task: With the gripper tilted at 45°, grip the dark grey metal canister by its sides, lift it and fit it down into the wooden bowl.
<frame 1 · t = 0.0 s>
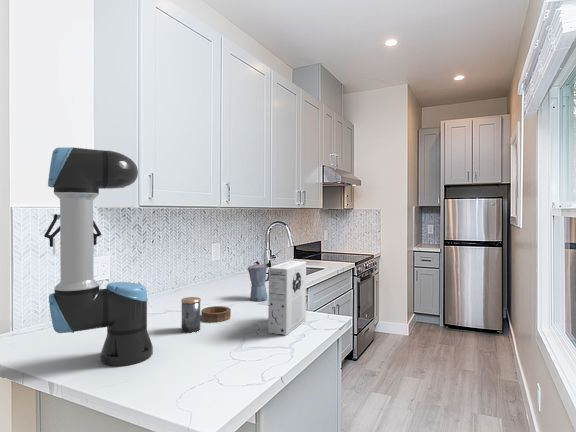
hand: (73, 254, 153), 28 cm above the table, tool pointing down, fingers open, 13 cm apart
canister: (190, 330, 144), on the table
moka pot: (259, 299, 193), on the table
wooden bowl: (216, 317, 160), on the table
cereal box: (288, 326, 150), on the table
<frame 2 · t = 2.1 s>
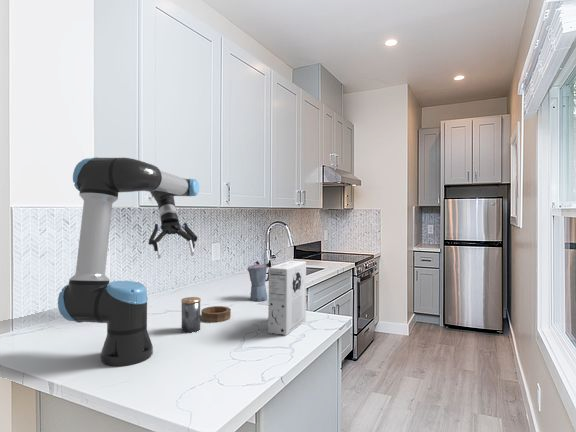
hand: (176, 255, 156), 27 cm above the table, tool tilted 40°, fingers open, 13 cm apart
nothing on the table moved.
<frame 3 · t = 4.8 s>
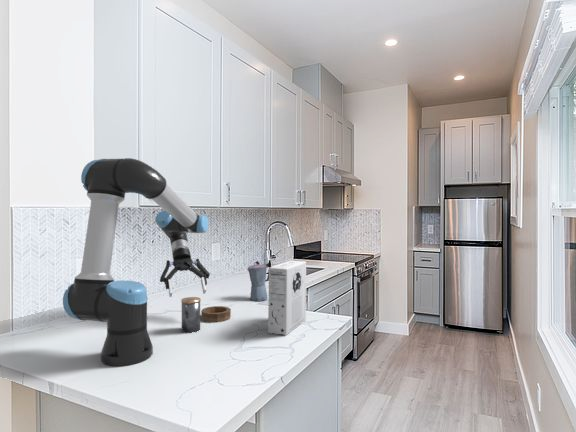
hand: (188, 293, 151), 12 cm above the table, tool tilted 45°, fingers open, 13 cm apart
nothing on the table moved.
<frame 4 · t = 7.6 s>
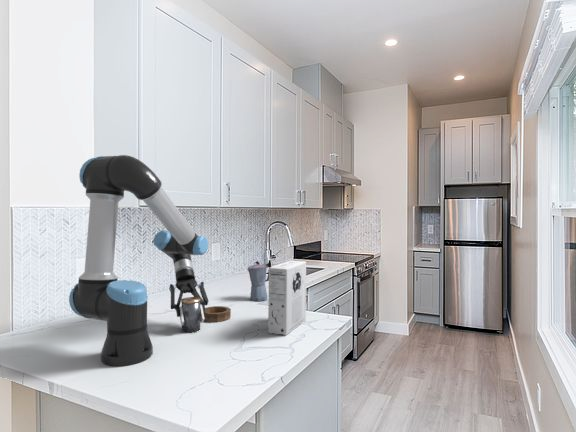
hand: (192, 322, 141), 4 cm above the table, tool tilted 45°, fingers closed on canister, 7 cm apart
canister: (190, 329, 144), on the table, touching gripper
everything else where it was.
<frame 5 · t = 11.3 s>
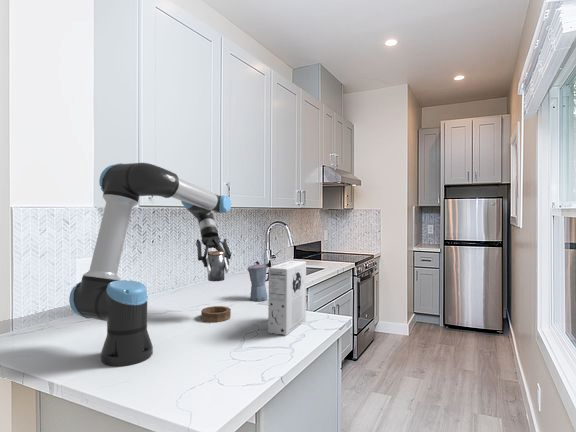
hand: (218, 271, 157), 21 cm above the table, tool tilted 45°, fingers closed on canister, 7 cm apart
canister: (216, 279, 160), point 17 cm above the table, touching gripper
everything else where it was.
when the fingers open (5 cm above the table, at t = 15.2 s): canister stays where it is, resting on wooden bowl.
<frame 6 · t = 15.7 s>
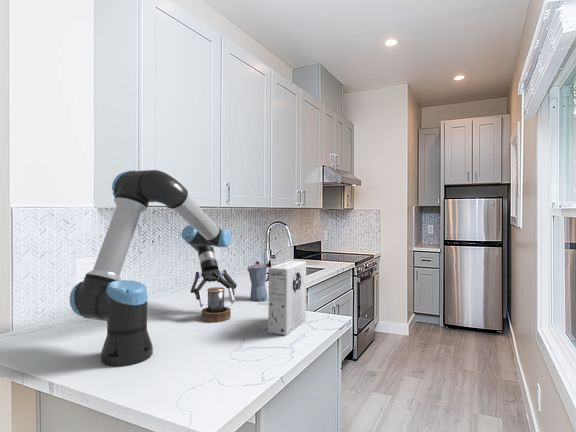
hand: (217, 303, 158), 7 cm above the table, tool tilted 45°, fingers open, 13 cm apart
canister: (216, 316, 160), point 1 cm above the table, touching wooden bowl
everything else where it was.
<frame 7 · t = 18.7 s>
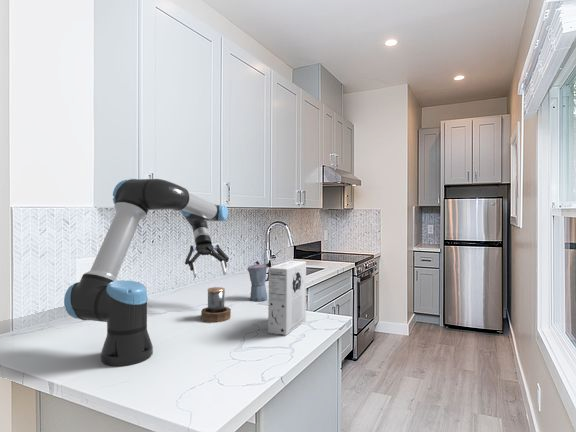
hand: (210, 274, 169), 17 cm above the table, tool tilted 45°, fingers open, 13 cm apart
nothing on the table moved.
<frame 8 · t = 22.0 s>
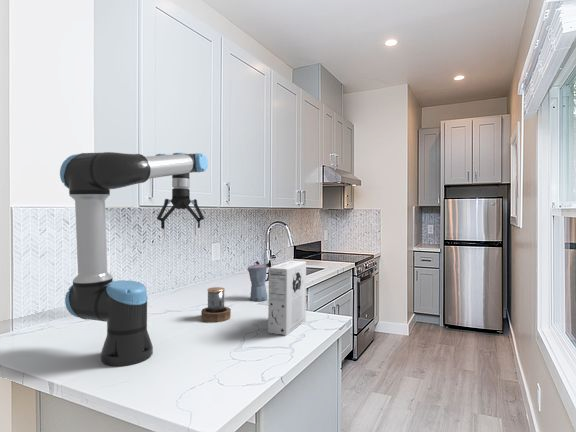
hand: (180, 235, 166), 35 cm above the table, tool pointing down, fingers open, 13 cm apart
nothing on the table moved.
at the end: canister 0.1 cm from the wooden bowl (horizontally); canister tilted 0°; the gripper is holding nothing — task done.
